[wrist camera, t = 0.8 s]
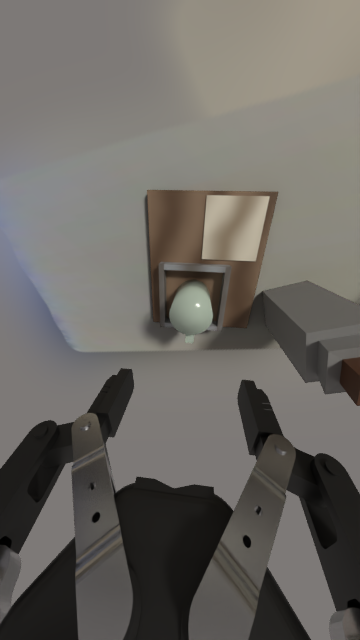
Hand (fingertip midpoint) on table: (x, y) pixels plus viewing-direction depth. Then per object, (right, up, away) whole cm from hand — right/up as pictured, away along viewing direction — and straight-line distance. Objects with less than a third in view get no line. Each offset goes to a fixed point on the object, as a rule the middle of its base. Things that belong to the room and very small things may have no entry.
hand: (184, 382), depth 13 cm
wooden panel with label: (+4, +13, +16) cm, 21 cm away
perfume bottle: (+18, +7, +17) cm, 26 cm away
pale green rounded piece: (+2, +8, +17) cm, 19 cm away
